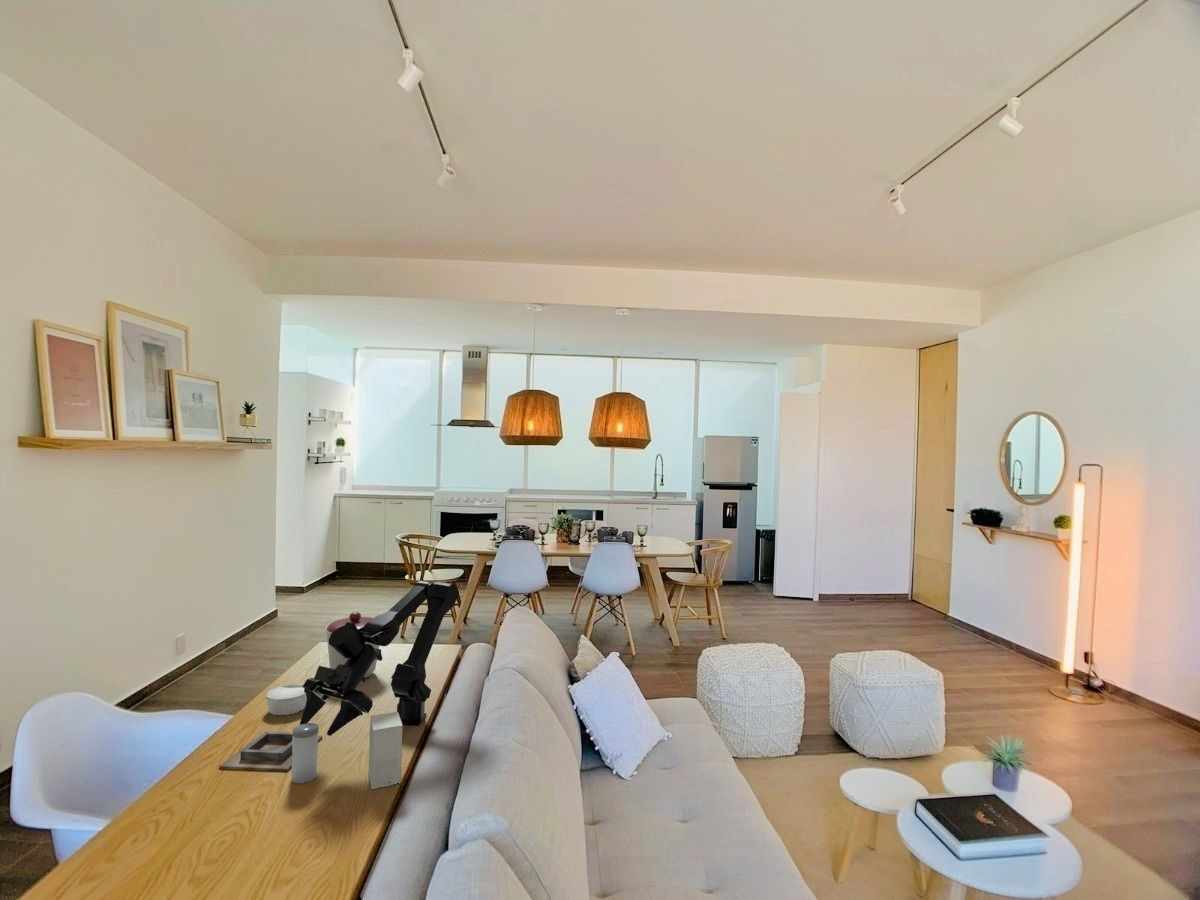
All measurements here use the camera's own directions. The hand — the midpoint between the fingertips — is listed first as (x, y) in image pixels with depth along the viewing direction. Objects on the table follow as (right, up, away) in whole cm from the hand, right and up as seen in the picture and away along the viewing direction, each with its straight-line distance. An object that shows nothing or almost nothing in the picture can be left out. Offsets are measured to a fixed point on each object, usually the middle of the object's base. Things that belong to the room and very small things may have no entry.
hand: (314, 730), depth 134 cm
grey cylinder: (-1, -10, -2) cm, 10 cm away
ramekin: (-23, -10, +32) cm, 41 cm away
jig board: (-14, -9, +8) cm, 19 cm away
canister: (-16, -10, +58) cm, 61 cm away
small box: (+17, -10, -2) cm, 20 cm away
